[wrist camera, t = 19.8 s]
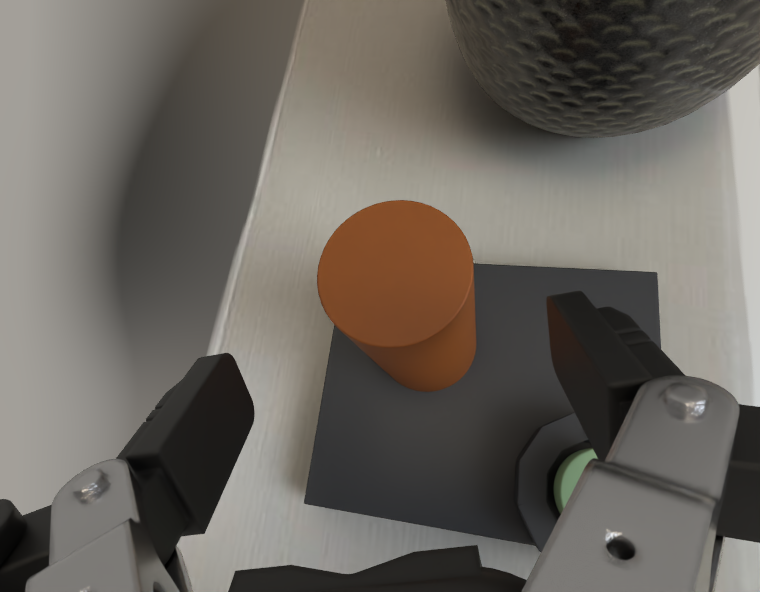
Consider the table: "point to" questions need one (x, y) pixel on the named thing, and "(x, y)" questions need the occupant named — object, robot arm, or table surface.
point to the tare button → (570, 475)
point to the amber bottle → (403, 292)
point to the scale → (468, 415)
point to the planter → (606, 58)
